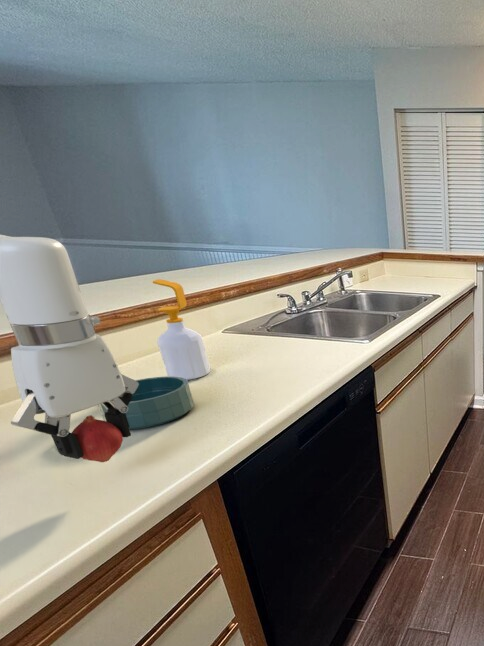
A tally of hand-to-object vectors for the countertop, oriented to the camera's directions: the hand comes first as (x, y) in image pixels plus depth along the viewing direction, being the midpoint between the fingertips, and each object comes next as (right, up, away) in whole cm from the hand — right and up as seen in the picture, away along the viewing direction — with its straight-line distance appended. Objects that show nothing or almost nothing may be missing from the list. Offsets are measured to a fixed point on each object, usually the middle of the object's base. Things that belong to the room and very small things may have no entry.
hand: (98, 444), depth 65 cm
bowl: (-13, +3, +24) cm, 28 cm away
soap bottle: (-21, +12, +46) cm, 52 cm away
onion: (0, -3, +1) cm, 3 cm away
